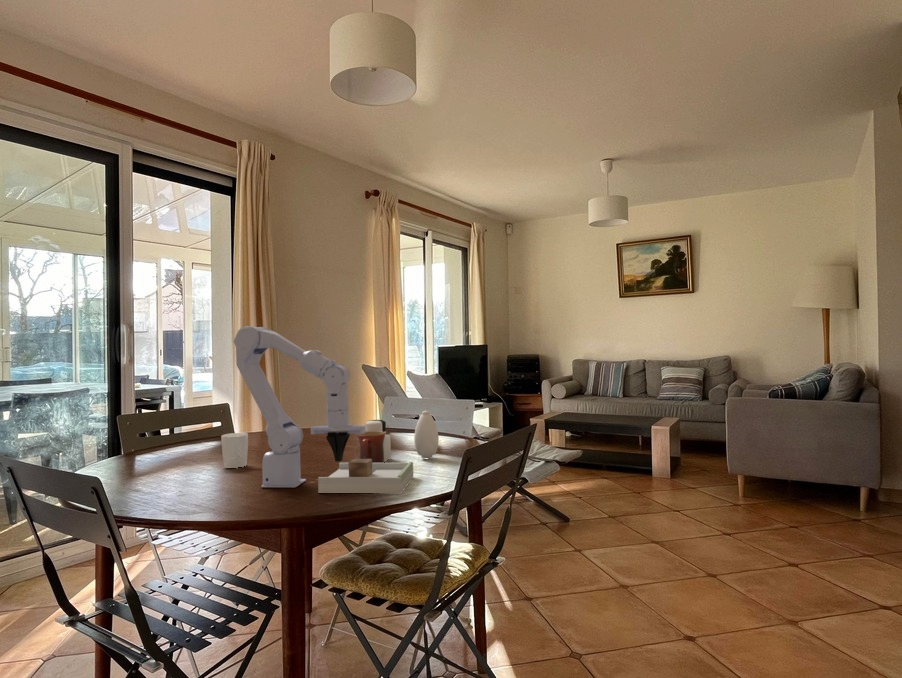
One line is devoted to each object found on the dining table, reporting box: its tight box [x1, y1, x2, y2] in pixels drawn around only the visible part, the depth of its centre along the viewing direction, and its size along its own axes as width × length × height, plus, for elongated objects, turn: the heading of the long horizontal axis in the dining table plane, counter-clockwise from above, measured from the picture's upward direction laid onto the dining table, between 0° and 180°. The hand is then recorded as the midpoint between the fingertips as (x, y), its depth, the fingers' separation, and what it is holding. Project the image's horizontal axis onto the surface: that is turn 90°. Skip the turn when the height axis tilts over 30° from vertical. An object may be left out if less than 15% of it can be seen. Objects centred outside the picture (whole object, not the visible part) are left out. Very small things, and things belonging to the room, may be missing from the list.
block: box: [348, 458, 372, 477], centre depth 150 cm, size 5×5×4 cm
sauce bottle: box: [413, 403, 440, 459], centre depth 182 cm, size 8×8×18 cm
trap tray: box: [317, 461, 414, 495], centre depth 149 cm, size 21×18×4 cm
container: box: [364, 419, 392, 463], centre depth 181 cm, size 8×8×13 cm
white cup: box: [220, 432, 249, 469], centre depth 177 cm, size 8×8×10 cm
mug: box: [356, 431, 387, 463], centre depth 170 cm, size 12×9×10 cm
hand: (338, 460), depth 150 cm, fingers closed
